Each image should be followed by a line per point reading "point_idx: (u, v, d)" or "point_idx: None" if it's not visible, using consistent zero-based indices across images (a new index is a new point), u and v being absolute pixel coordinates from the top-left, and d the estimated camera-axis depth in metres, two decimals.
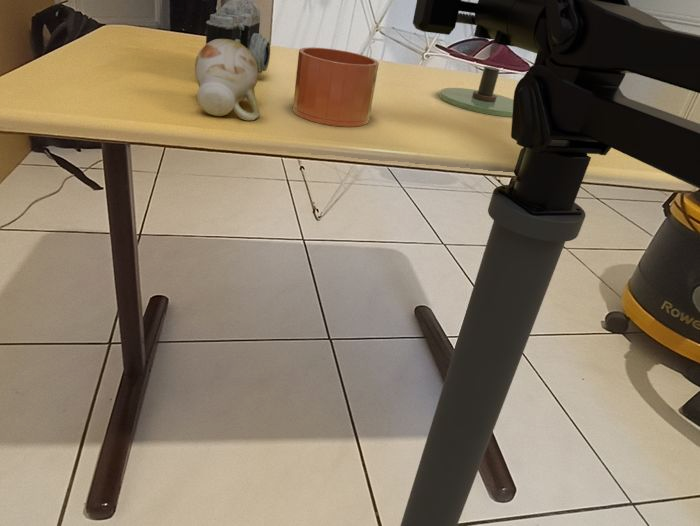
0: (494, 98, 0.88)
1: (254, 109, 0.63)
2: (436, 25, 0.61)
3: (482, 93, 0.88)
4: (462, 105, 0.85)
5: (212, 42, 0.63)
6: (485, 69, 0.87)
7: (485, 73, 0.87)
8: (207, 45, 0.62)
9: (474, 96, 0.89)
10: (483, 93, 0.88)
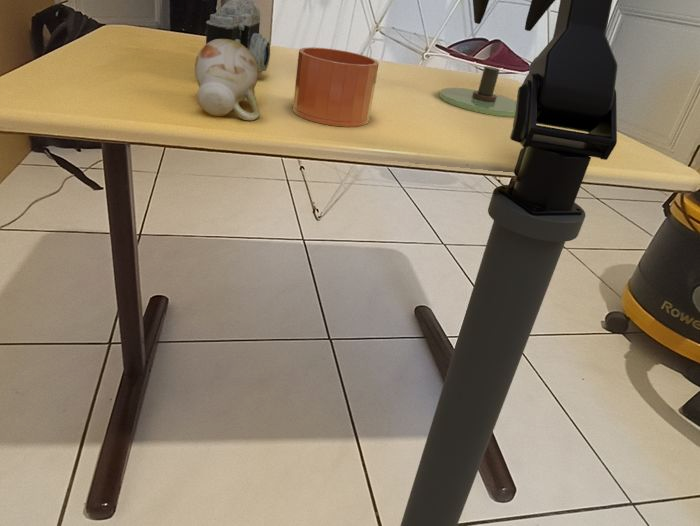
0: (494, 98, 0.88)
1: (254, 109, 0.63)
2: None
3: (482, 93, 0.88)
4: (462, 105, 0.85)
5: (212, 42, 0.63)
6: (485, 69, 0.87)
7: (485, 73, 0.87)
8: (207, 45, 0.62)
9: (474, 96, 0.89)
10: (483, 93, 0.88)
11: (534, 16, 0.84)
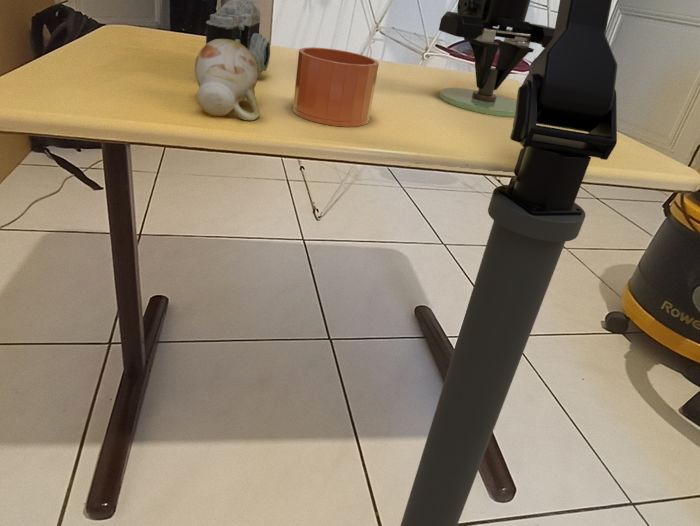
0: (494, 98, 0.88)
1: (254, 109, 0.63)
2: (468, 16, 0.79)
3: (482, 93, 0.88)
4: (462, 105, 0.85)
5: (212, 42, 0.63)
6: None
7: None
8: (207, 45, 0.62)
9: (474, 96, 0.89)
10: (483, 93, 0.88)
11: (499, 76, 0.87)
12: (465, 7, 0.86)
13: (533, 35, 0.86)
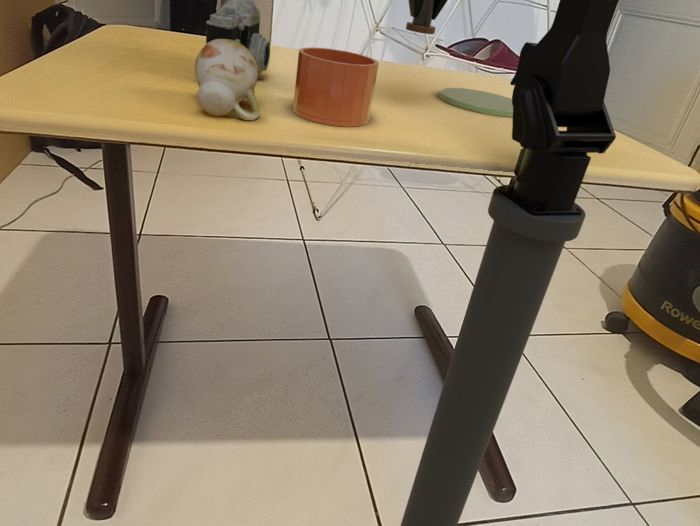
0: (431, 29, 0.71)
1: (254, 109, 0.63)
2: None
3: (417, 23, 0.71)
4: (462, 105, 0.85)
5: (212, 42, 0.63)
6: None
7: None
8: (207, 45, 0.62)
9: (407, 27, 0.72)
10: (418, 23, 0.71)
11: (437, 2, 0.71)
12: None
13: None
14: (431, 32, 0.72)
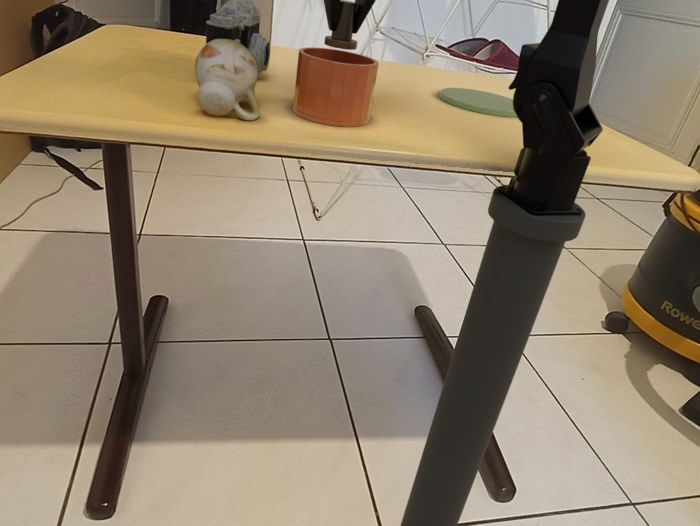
0: (352, 44, 0.64)
1: (254, 109, 0.63)
2: None
3: (335, 37, 0.64)
4: (462, 105, 0.85)
5: (212, 42, 0.63)
6: None
7: None
8: (207, 45, 0.62)
9: (325, 42, 0.64)
10: (336, 37, 0.64)
11: (358, 14, 0.63)
12: None
13: None
14: (352, 47, 0.64)
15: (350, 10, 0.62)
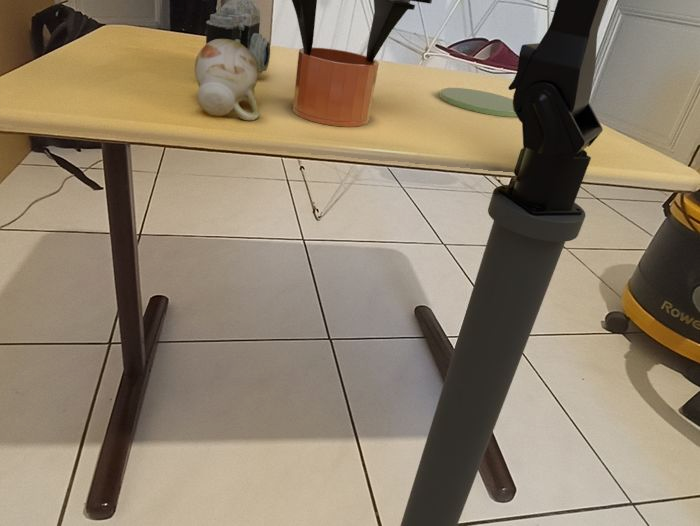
0: None
1: (254, 109, 0.63)
2: None
3: None
4: (462, 105, 0.85)
5: (212, 42, 0.63)
6: None
7: None
8: (207, 45, 0.62)
9: None
10: None
11: (373, 44, 0.66)
12: None
13: None
14: None
15: None
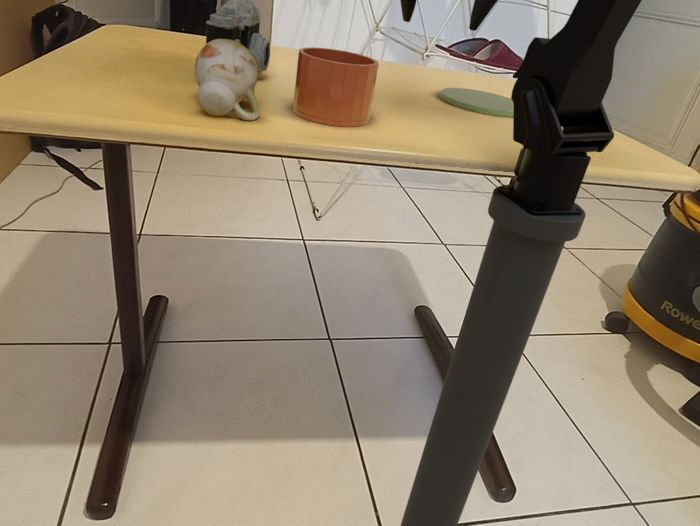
0: None
1: (254, 109, 0.63)
2: None
3: None
4: (462, 105, 0.85)
5: (212, 42, 0.63)
6: None
7: None
8: (207, 45, 0.62)
9: None
10: None
11: (480, 12, 0.66)
12: None
13: None
14: None
15: None
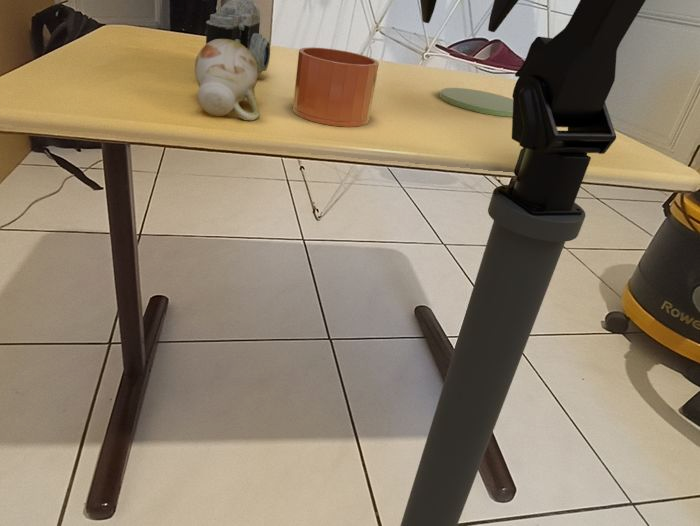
0: None
1: (254, 109, 0.63)
2: None
3: None
4: (462, 105, 0.85)
5: (212, 42, 0.63)
6: None
7: None
8: (207, 45, 0.62)
9: None
10: None
11: (499, 13, 0.67)
12: None
13: None
14: None
15: None
